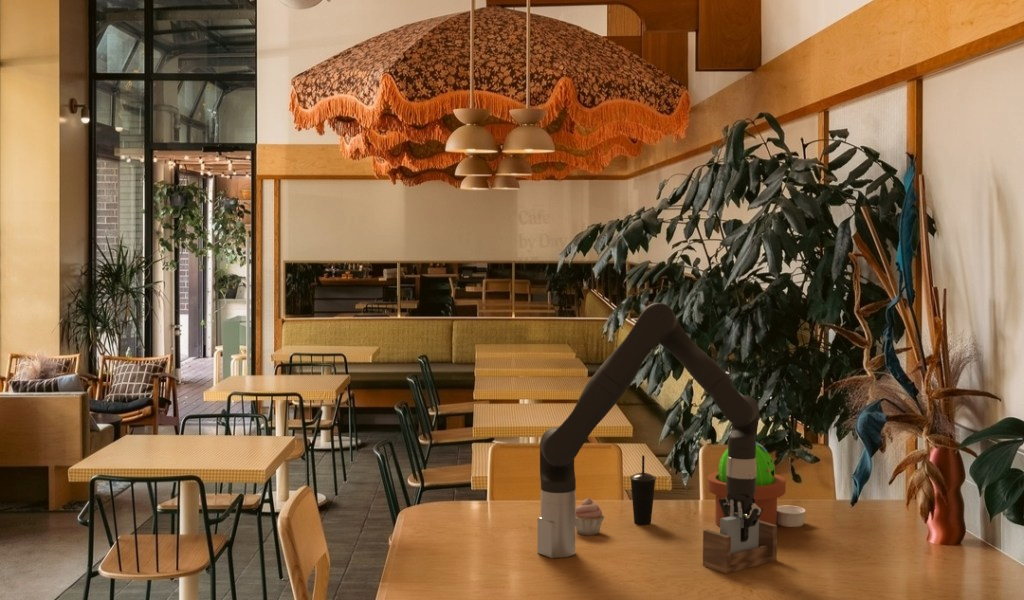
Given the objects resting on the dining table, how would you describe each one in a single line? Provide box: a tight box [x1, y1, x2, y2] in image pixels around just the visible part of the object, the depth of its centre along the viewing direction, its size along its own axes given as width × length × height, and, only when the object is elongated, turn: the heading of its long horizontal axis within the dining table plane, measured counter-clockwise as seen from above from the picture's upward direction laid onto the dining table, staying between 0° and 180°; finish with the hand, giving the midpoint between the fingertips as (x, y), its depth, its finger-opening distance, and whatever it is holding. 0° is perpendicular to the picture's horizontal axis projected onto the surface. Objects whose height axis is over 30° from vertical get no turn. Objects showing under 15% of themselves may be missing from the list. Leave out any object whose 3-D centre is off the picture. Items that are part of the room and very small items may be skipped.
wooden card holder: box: [702, 520, 778, 574], centre depth 283 cm, size 19×8×9 cm, turn 126°
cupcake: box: [575, 497, 606, 536], centre depth 310 cm, size 9×9×10 cm
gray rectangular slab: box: [719, 514, 759, 554], centre depth 283 cm, size 12×2×10 cm, turn 126°
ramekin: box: [776, 504, 806, 528], centre depth 321 cm, size 9×9×4 cm
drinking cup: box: [629, 455, 657, 526], centre depth 320 cm, size 8×8×20 cm
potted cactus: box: [707, 441, 787, 527], centre depth 319 cm, size 22×22×25 cm
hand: (740, 540), depth 283 cm, fingers closed on gray rectangular slab, 2 cm apart
